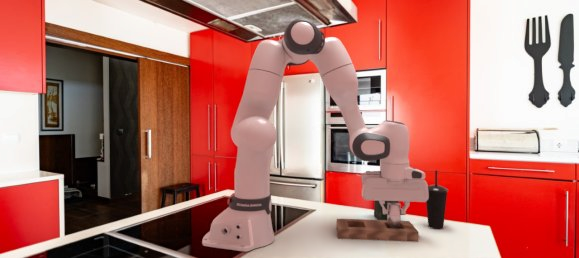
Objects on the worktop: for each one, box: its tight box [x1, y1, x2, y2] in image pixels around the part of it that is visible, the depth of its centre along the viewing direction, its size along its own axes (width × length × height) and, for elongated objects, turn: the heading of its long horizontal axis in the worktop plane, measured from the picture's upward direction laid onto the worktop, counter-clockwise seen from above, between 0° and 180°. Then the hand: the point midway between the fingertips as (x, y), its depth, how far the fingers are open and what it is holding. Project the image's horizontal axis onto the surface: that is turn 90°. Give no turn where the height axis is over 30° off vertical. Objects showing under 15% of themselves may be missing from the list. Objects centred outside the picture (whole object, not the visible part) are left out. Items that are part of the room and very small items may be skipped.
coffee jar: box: [373, 201, 400, 220], centre depth 114 cm, size 10×8×19 cm
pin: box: [387, 202, 402, 229], centre depth 97 cm, size 4×4×9 cm
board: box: [336, 218, 419, 243], centre depth 98 cm, size 24×10×4 cm, turn 84°
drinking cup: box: [425, 170, 449, 230], centre depth 107 cm, size 8×8×20 cm
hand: (394, 214), depth 97 cm, fingers closed on pin, 4 cm apart
